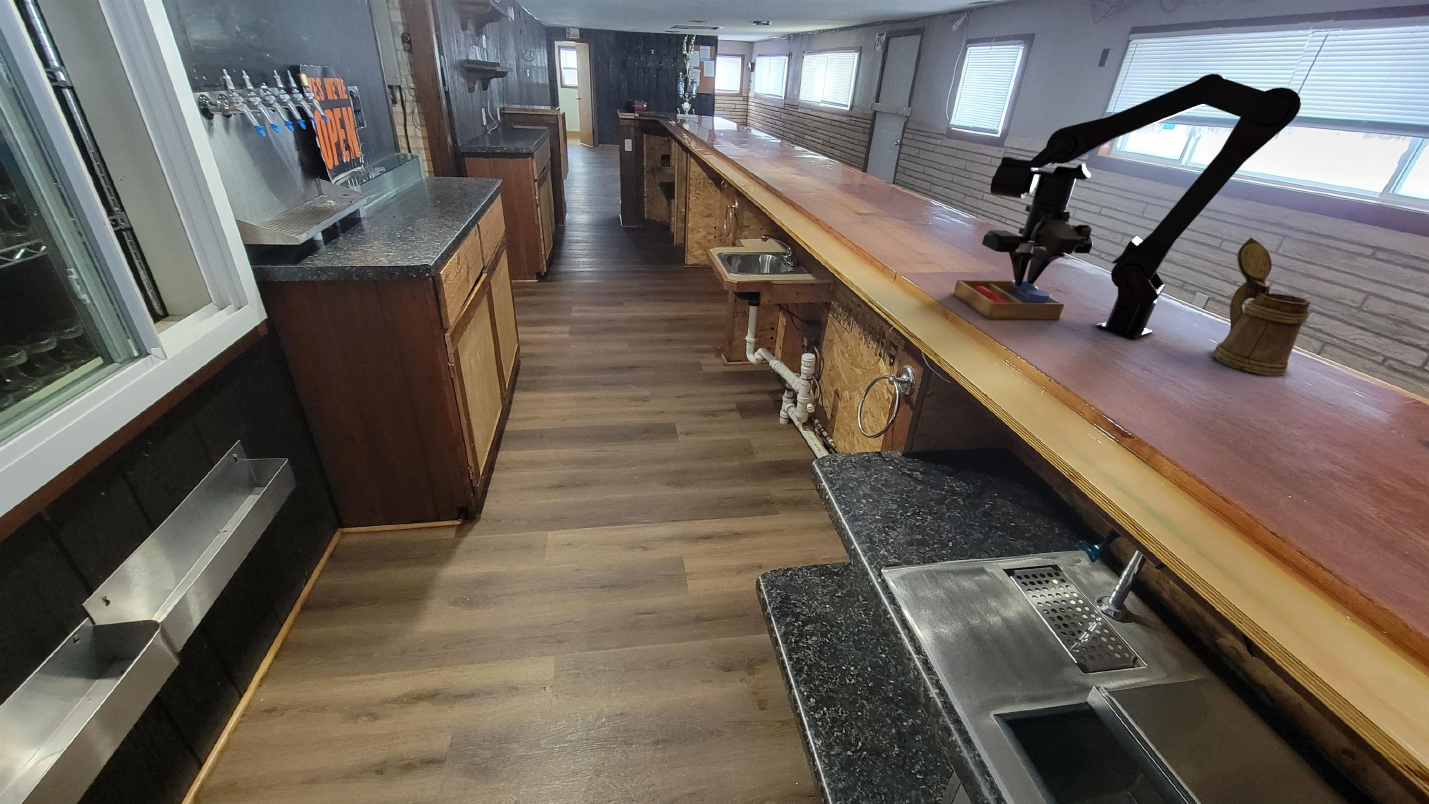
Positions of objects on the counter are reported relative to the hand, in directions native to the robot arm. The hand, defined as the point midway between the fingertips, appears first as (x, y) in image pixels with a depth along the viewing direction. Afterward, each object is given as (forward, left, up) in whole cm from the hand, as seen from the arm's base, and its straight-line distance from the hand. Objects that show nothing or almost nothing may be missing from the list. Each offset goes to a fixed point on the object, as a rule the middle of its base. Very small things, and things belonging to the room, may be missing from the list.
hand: (1023, 286), depth 110 cm
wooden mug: (-10, +32, -4) cm, 34 cm away
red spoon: (+6, -2, -3) cm, 7 cm away
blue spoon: (+1, +2, -1) cm, 2 cm away
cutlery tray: (+4, -1, -4) cm, 5 cm away
